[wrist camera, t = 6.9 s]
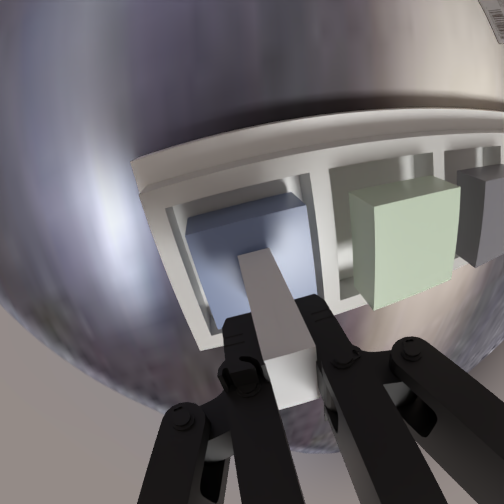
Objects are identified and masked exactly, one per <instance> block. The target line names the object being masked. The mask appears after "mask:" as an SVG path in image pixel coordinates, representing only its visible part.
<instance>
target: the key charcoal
mask: <svg viewBox="0 0 504 504" xmlns="http://www.w3.org/2000/svg"><path fill="white" fill-rule="evenodd" d="M457 186H460V187H461V190H460V210H459V223H458V233H457V242H456V250H455V254H457V255H458V256H459V257H461V258H462V259H464V260H465V261H466V262H468V263H469V264H470V265H472V266H473V267H475V268H476V267H478V266H480V265H482V264H484V263H486V262H488V261H490V260H492V259H494V258H496V257H498V256H500V255H502V254H504V164H495V165H488V166H482V167H476V168H470V169H464V170H458V171H457Z"/></svg>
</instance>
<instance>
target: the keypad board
mask: <svg viewBox="0 0 504 504" xmlns="http://www.w3.org/2000/svg"><path fill="white" fill-rule="evenodd" d="M130 163H131V166H132V170H133V173H134V176H135V179H136V183H137V186H138V189H139V192H140V194H139V197H140V200H141V203H142V206H143V209H144V212H145V215H146V218H147V221H148V224H149V227H150V229H151V232H152V235H153V238H154V241H155V243H156V246H157V249H158V251H159V254H160V257H161V259H162V262H163V264H164V267H165V270H166V272H167V275H168V277H169V280H170V282H171V285H172V287H173V290H174V292H175V294H176V297H177V299H178V302H179V304H180V306H181V309H182V311H183V313H184V316H185V318H186V320H187V322H188V325H189V327H190V329H191V331H192V334H193V336H194V338H195V340H196V342H197V344H198V347H199V349H200V351H201V350H206V349H210V348H215V347H219V346H224V344H223V335H222V329H218V328H217V326H216V323H215V320H214V318H213V315H212V312H211V310H210V307H209V304H208V302H207V299H206V296H205V293H204V291H203V288H202V285H201V282H200V279H199V276H198V273H197V271H196V268H195V265H194V262H193V259H192V256H191V253H190V250H189V247H188V244H187V241H186V238H185V231H186V225H187V219H188V218H189V217H192V216H196V215H200V214H203V213H207V212H211V211H215V210H218V209H222V208H226V207H230V206H234V205H238V204H242V203H246V202H250V201H254V200H258V199H262V198H267V197H271V196H275V195H279V194H284V193H288V192H292V193H293V194H294V195H295V196H297V197H298V198H299V199H300V200H301V201H302V202H303V203H304V204H306V207H307V214H308V221H309V228H310V236H311V243H312V251H313V259H314V268H315V277H316V286H317V295H318V296H319V297H321V298H323V299H324V300H325V302H326V303H327V305H328V306H329V308H330V310H331V311H332V313H333V315H336V314H339V313H342V312H345V311H348V310H351V309H354V308H357V307H360V306H363V305H366V304H368V303H367V302H366V300H365V299H364V298H363V297H362V295H361V294H360V293H359V292H358V290H357V289H356V288H355V287H354V277H353V250H352V232H351V218H350V206H349V195H348V192H349V191H354V190H359V189H363V188H368V187H373V186H378V185H383V184H388V183H393V182H398V181H403V180H408V179H413V178H419V177H424V176H430V175H432V176H434V177H437V178H440V179H442V180H445V181H447V182H450V183H452V184H455V185H457V171H458V170H464V169H470V168H476V167H482V166H488V165H495V164H504V111H497V110H486V109H471V108H447V107H412V108H387V109H371V110H359V111H348V112H339V113H330V114H322V115H315V116H307V117H301V118H294V119H288V120H282V121H277V122H271V123H266V124H261V125H256V126H251V127H246V128H242V129H237V130H233V131H228V132H224V133H220V134H216V135H212V136H208V137H204V138H200V139H196V140H193V141H189V142H186V143H182V144H179V145H175V146H172V147H168V148H165V149H162V150H159V151H156V152H152V153H149V154H146V155H143V156H140V157H138V158H136V159H134V160H132V161H131V162H130ZM466 264H468V262H466V261H465V260H464V259H462V258H461V257H459V256H458V255H457V254H455V257H454V264H453V270H455V269H457V268H460V267H462V266H464V265H466ZM453 270H452V271H453Z"/></svg>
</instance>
